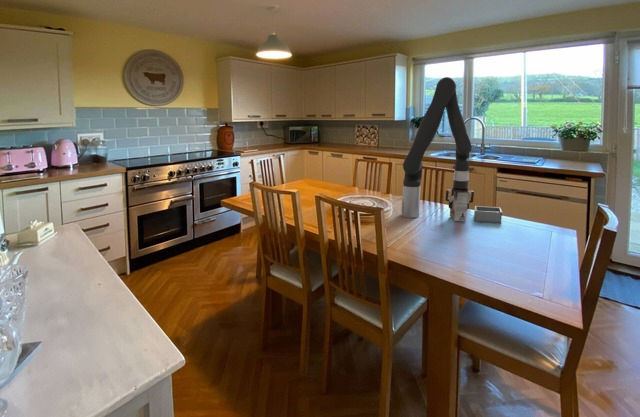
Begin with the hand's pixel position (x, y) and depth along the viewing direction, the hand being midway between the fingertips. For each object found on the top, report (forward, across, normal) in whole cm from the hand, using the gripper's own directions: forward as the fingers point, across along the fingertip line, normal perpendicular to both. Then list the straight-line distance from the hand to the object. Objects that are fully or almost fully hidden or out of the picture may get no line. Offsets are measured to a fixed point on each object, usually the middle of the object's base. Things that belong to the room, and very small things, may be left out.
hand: (458, 209), depth 204 cm
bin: (+5, +15, +3) cm, 16 cm away
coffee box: (+5, 0, 0) cm, 5 cm away
